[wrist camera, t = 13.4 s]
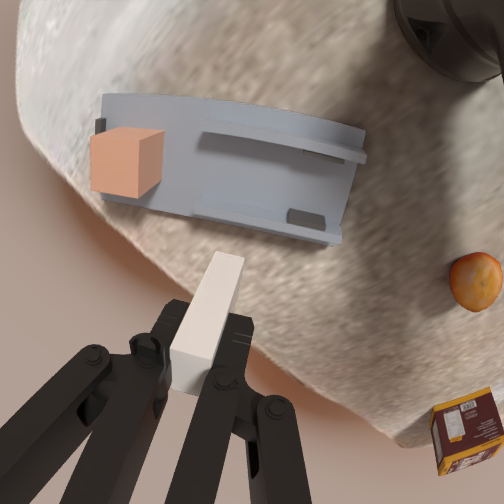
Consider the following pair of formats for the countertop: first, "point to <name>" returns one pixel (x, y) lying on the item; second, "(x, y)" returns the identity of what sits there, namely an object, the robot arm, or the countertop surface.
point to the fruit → (476, 281)
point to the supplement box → (466, 431)
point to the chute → (244, 163)
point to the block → (126, 160)
